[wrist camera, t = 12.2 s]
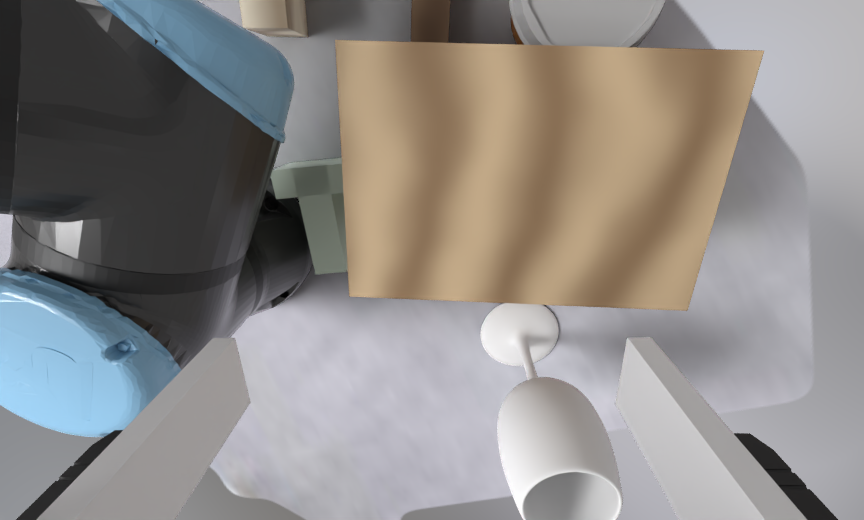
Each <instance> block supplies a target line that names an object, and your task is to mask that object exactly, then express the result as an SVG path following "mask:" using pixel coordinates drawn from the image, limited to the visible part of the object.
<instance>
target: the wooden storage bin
mask: <svg viewBox="0 0 864 520" xmlns="http://www.w3.org/2000/svg"><path fill="white" fill-rule="evenodd" d="M335 48H336V66H337V84H338V102H339V120H340V138H341V157H342V175H343V193H344V211H345V229H346V247H347V266H348V284H349V297H372V298H396V299H420V300H444V301H468V302H492V303H515V304H539V305H563V306H587V307H611V308H635V309H658V310H682V311H687V310H688V307H689V304H690V300H691V297H692V293H693V290H694V287H695V283H696V280H697V277H698V273H699V270H700V266H701V263H702V260H703V256H704V253H705V249H706V246H707V243H708V239H709V236H710V233H711V229H712V226H713V222H714V219H715V216H716V212H717V209H718V205H719V202H720V199H721V195H722V192H723V188H724V185H725V182H726V178H727V175H728V172H729V168H730V165H731V161H732V158H733V155H734V151H735V148H736V144H737V141H738V138H739V134H740V131H741V128H742V124H743V121H744V117H745V114H746V111H747V107H748V104H749V100H750V97H751V94H752V90H753V87H754V84H755V80H756V77H757V73H758V70H759V67H760V63H761V60H762V56H763V53H764V51H757V50H716V49H676V48H636V47H596V46H555V45H515V44H475V43H435V42H394V41H354V40H335Z"/></svg>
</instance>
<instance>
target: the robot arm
mask: <svg viewBox="0 0 864 520" xmlns="http://www.w3.org/2000/svg"><path fill="white" fill-rule="evenodd" d="M293 90H294V76H293V72H292V69H291V67H290V65H289V63H288V61H287V60H286V58H285V57H284V56H283V54H282V53H281V52H280V51H279V50H277V49H276V48H275V47H273V46H272V45H270V44H269V43H267V42H265V41H264V40H262V39H261V38H259V37H257V36H256V35H254V34H252V33H251V32H249V31H247V30H246V29H244V28H242V27H241V26H239V25H237V24H236V23H234V22H232V21H231V20H229V19H227V18H226V17H224V16H222V15H221V14H219V13H217V12H216V11H214V10H212V9H211V8H209V7H207V6H205V5H204V4H202V3H200V2H199V1H197V0H0V214H9V215H13V224H12V237H11V254H10V258H9V260H8V262H7V263H6V264H5V265H4V266H3V267H2V268H0V405H1V406H3V407H5V408H6V409H8V410H9V411H11V412H13V413H15V414H17V415H18V416H20V417H22V418H24V419H26V420H29V421H31V422H33V423H35V424H38V425H41V426H43V427H46V428H49V429H52V430H55V431H59V432H62V433H66V434H72V435H78V436H86V437H104V438H102V439H101V440H99V441H98V442H96V443H95V444H93V445H92V446H91V447H90V448H89V449H88V450H87V451H86V452H85V453H84V454H83V455H82V456H81V457H80V458H79V459H78V460H77V461H76V462H75V463H74V466H70V467H69V468H68V469H67V470H66V471H65V472H64V473H63V474H62V475H61V476H60V477H59V480H58V481H55V482H54V483H53V484H52V485H51V486H50V487H49V488H48V489H47V490H46V491H45V492H44V493H43V494H42V495H41V496H40V497H39V498H38V499H37V500H36V501H35V502H34V503H33V504H32V505H31V506H30V507H29V508H28V509H27V510H26V511H25V512H24V513H22V514H21V515H20V517H18V518H17V519H16V520H175V519H176V517H177V516H178V514H179V513H180V511H181V509H182V508H183V506H184V505H185V503H186V502H187V500H188V499H189V497H190V496H191V494H192V492H193V491H194V489H195V488H196V486H197V485H198V483H199V481H200V480H201V478H202V477H203V475H204V474H205V472H206V471H207V469H208V468H209V466H210V464H211V463H212V461H213V460H214V458H215V457H216V455H217V454H218V452H219V450H220V449H221V447H222V446H223V444H224V443H225V441H226V440H227V438H228V436H229V435H230V433H231V432H232V430H233V429H234V427H235V426H236V424H237V423H238V421H239V419H240V418H241V416H242V415H243V413H244V412H245V410H246V409H247V407H248V405H249V404H250V399H249V394H248V390H247V386H246V382H245V378H244V373H243V369H242V365H241V361H240V357H239V352H238V348H237V344H236V340H235V338H230V337H231V336H232V335H233V334H234V333H235V331H236V330H237V329H238V328H239V327H240V326H241V325H242V324H243V323H244V321H245V320H246V319H247V318H248V317H249V316H252V315H254V314H257V313H260V312H262V311H265V310H268V309H270V308H273V307H275V306H277V305H279V304H281V303H282V302H284V301H285V300H287V299H288V298H289V297H290V296H291V295H292V294H293V293H294V292H295V291H296V290H297V289H298V288H299V286H300V285H301V284H302V283H303V281H304V280H305V278H306V277H307V275H308V273H309V271H310V269H311V266H312V262H313V261H312V257H311V253H310V248H309V244H308V239H307V235H306V230H305V226H304V222H303V217H302V213H301V208H300V204H299V203H298V202H297V200H296V199H295V198H284V199H276V197H275V193H274V188H273V184H272V180H271V178H270V176H271V173H272V170H273V167H274V163H275V160H276V157H277V154H278V150H279V147H280V144H281V143H284V141H285V133H284V126H285V122H286V118H287V114H288V110H289V106H290V102H291V98H292V94H293ZM615 405H616V407H617V408H618V410H619V412H620V414H621V416H622V418H623V419H624V421H625V423H626V425H627V427H628V428H629V430H630V432H631V434H632V436H633V438H634V439H635V441H636V443H637V445H638V447H639V448H640V450H641V452H642V454H643V456H644V458H645V459H646V461H647V463H648V465H649V467H650V468H651V470H652V472H653V474H654V476H655V477H656V479H657V481H658V483H659V485H660V487H661V488H662V490H663V492H664V494H665V496H666V497H667V499H668V501H669V503H670V505H671V506H672V508H673V510H674V512H675V514H676V515H677V517H678V519H679V520H838V519H837V518H836V517H835V516H834V515H833V514H832V513H831V512H830V511H829V509H828V508H827V507H826V506H825V505H824V504H823V503H822V502H821V501H820V500H819V499H818V498H817V496H816V495H814V493H813V492H812V491H811V490H810V489H807V488H806V485H805V484H804V482H803V481H802V480H801V479H800V478H799V477H798V476H797V475H796V474H795V473H792V472H791V468H790V467H788V465H787V464H786V463H785V462H784V461H783V460H782V459H781V458H780V457H779V456H778V454H777V453H776V452H775V451H774V450H773V449H771V448H770V447H768V446H767V445H766V444H764V443H762V442H761V441H760V440H758V439H757V438H755V437H754V436H753V435H751V434H739V433H737V434H736V433H733V432H732V431H731V430H730V429H729V428H728V427H727V425H726V424H725V423H724V422H723V421H722V420H721V418H720V417H719V416H718V415H717V414H716V412H715V411H714V410H713V409H712V408H711V407H710V405H709V404H708V403H707V402H706V401H705V400H704V398H703V397H702V396H701V395H700V394H699V393H698V391H697V390H696V389H695V388H694V387H693V386H692V384H691V383H690V382H689V381H688V380H687V379H686V377H685V376H684V375H683V374H682V373H681V372H680V370H679V369H678V368H677V367H676V366H675V365H674V363H673V362H672V361H671V360H670V359H669V358H668V356H667V355H666V354H665V353H664V352H663V350H662V349H661V348H660V347H659V346H658V345H657V343H656V342H655V341H654V340H653V339H652V338H651V337H627V341H626V347H625V352H624V358H623V363H622V369H621V374H620V380H619V385H618V391H617V396H616V402H615Z"/></svg>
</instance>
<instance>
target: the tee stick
mask: <svg viewBox="0 0 864 520" xmlns="http://www.w3.org/2000/svg"><path fill="white" fill-rule="evenodd" d="M271 180H272V184H273V188H274V193H275V197H276V199H284V198H294V197H298V199H299V204H300V208H301V213H302V217H303V222H304V226H305V230H306V235H307V239H308V244H309V248H310V253H311V257H312V261H313V266H314V270H315V275H316V274H329V273H341V272H347V270H348V266H347V247H346V229H345V211H344V193H343V175H342V157H340V158H330V159H321V160H311V161H301V162H291V163H288V164H285V165H283V166H280V167H278V168H275V169H273V170H272V173H271Z"/></svg>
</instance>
